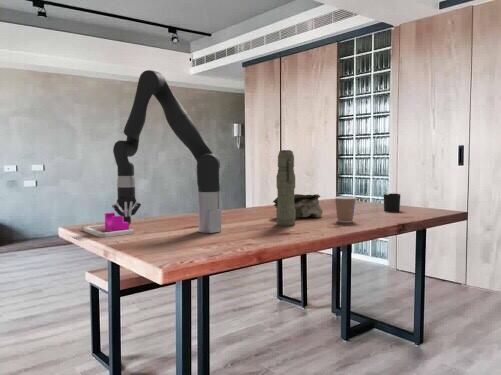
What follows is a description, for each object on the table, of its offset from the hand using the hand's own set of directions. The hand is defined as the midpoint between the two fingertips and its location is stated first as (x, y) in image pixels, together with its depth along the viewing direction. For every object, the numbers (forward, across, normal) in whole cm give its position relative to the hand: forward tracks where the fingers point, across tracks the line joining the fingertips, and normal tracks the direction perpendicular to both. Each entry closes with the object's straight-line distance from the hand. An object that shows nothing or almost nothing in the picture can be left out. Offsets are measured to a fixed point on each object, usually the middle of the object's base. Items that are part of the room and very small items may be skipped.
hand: (127, 225), depth 186 cm
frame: (+2, -8, 0) cm, 8 cm away
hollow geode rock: (+2, +85, -22) cm, 88 cm away
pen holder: (+2, +146, -40) cm, 151 cm away
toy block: (+2, -5, -1) cm, 6 cm away
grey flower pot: (+2, +92, -48) cm, 104 cm away
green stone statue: (+2, +63, -36) cm, 73 cm away
